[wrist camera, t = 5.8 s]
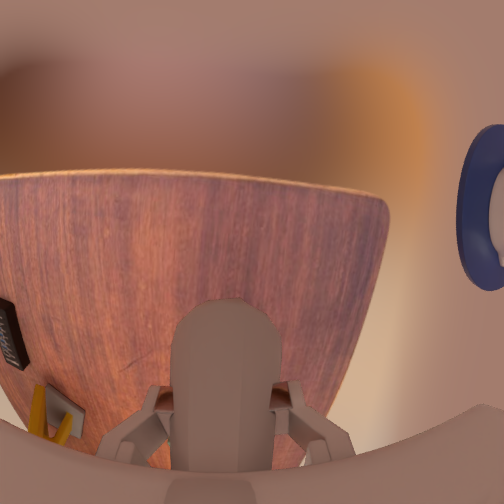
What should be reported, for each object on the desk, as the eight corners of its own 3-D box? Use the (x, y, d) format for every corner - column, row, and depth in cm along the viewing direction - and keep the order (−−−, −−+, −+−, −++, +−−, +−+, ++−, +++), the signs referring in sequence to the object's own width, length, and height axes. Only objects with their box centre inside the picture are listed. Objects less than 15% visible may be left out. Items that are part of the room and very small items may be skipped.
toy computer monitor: (45, 369, 29) (-2, 440, 14) (88, 396, 31) (50, 476, 15) (47, 424, 34) (21, 478, 19) (80, 443, 35) (59, 501, 20)
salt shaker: (255, 372, 17) (272, 562, 5) (172, 348, 16) (119, 542, 4) (291, 299, 16) (371, 529, 3) (195, 268, 15) (109, 519, 2)
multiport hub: (13, 303, 26) (4, 311, 23) (30, 363, 29) (23, 372, 27) (-4, 296, 25) (-13, 302, 23) (12, 354, 28) (5, 362, 26)
